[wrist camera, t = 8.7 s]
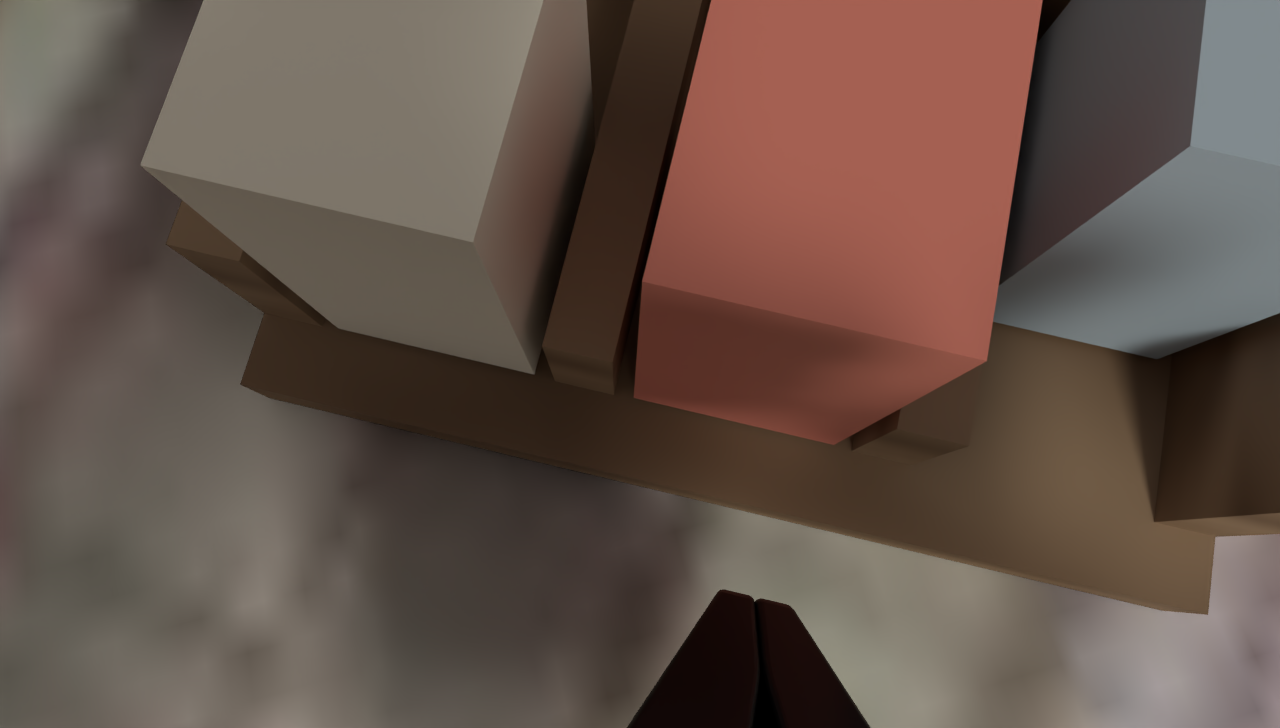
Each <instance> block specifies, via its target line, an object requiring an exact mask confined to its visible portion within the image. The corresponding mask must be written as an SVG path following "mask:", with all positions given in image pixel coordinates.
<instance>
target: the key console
mask: <svg viewBox="0 0 1280 728" xmlns="http://www.w3.org/2000/svg"><path fill="white" fill-rule="evenodd" d="M1070 1H1071V0H1043V1H1042V7H1041V14H1040V20H1039V27H1038V33H1037V40H1036V44H1037V42H1038V41H1039V40H1040V39H1041V37H1042V36H1043V35H1044V34H1045V32H1046V31H1047V30H1048V29H1049V27H1050V26H1051V25H1052V24H1053V22H1054V21H1055V20H1056V19H1057V17H1058V16H1059V15H1060V14H1061V12H1062V11H1063V10H1064V9H1065V7H1066V6H1067V5H1068V4H1069V2H1070ZM586 3H587V19H588V35H589V51H590V67H591V83H592V99H593V115H594V131H595V149H594V152H593V156H592V160H591V164H590V167H589V171H588V175H587V179H586V182H585V186H584V190H583V194H582V197H581V201H580V205H579V209H578V212H577V216H576V220H575V224H574V227H573V231H572V235H571V239H570V242H569V246H568V250H567V254H566V257H565V261H564V265H563V269H562V272H561V276H560V280H559V284H558V287H557V291H556V295H555V299H554V302H553V306H552V310H551V314H550V317H549V321H548V325H547V329H546V332H545V336H544V340H543V344H542V348H541V352H540V356H539V359H538V363H537V367H536V371H535V374H530V373H525V372H521V371H517V370H513V369H508V368H504V367H500V366H496V365H491V364H487V363H483V362H479V361H474V360H470V359H466V358H462V357H457V356H453V355H449V354H445V353H440V352H436V351H432V350H428V349H423V348H419V347H415V346H411V345H406V344H402V343H398V342H394V341H389V340H385V339H381V338H377V337H372V336H368V335H364V334H360V333H355V332H351V331H347V330H343V329H338V328H337V327H336V326H335V325H333V324H332V323H331V322H330V321H329V320H327V319H326V318H325V317H324V316H322V315H321V314H320V313H319V312H318V311H316V310H315V309H314V308H313V307H312V306H310V305H309V304H308V303H307V302H305V301H304V300H303V299H302V298H301V297H299V296H298V295H297V294H296V293H294V292H293V291H292V290H291V289H290V288H288V287H287V286H286V285H285V284H284V283H282V282H281V281H280V280H279V279H277V278H276V277H275V276H274V275H273V274H271V273H270V272H269V271H268V270H267V269H265V268H264V267H263V266H262V265H260V264H259V263H258V262H257V261H256V260H254V259H253V258H252V257H251V256H250V255H248V254H247V253H246V252H245V251H243V250H242V249H241V248H240V247H239V246H237V245H236V244H235V243H234V242H233V241H231V240H230V239H229V238H228V237H226V236H225V235H224V234H223V233H222V232H220V231H219V230H218V229H217V228H216V227H214V226H213V225H212V224H211V223H209V222H208V221H207V220H206V219H205V218H203V217H202V216H201V215H200V214H199V213H197V212H196V211H195V210H194V209H192V208H191V207H190V206H189V205H188V204H186V203H185V202H184V201H183V200H182V201H181V204H180V207H179V210H178V212H177V215H176V218H175V220H174V223H173V226H172V228H171V231H170V234H169V237H168V239H167V242H166V245H168V246H169V247H170V248H172V249H173V250H175V251H176V252H178V253H179V254H180V255H182V256H183V257H185V258H186V259H188V260H189V261H191V262H192V263H193V264H195V265H196V266H198V267H199V268H201V269H202V270H203V271H205V272H206V273H208V274H209V275H211V276H212V277H214V278H215V279H216V280H218V281H219V282H221V283H222V284H224V285H225V286H226V287H228V288H229V289H231V290H232V291H234V292H235V293H236V294H238V295H239V296H241V297H242V298H244V299H245V300H247V301H248V302H249V303H251V304H252V305H254V306H255V307H257V308H258V309H259V310H261V311H262V312H264V316H263V318H262V321H261V324H260V327H259V330H258V333H257V336H256V339H255V342H254V345H253V348H252V351H251V354H250V357H249V360H248V363H247V366H246V369H245V372H244V375H243V378H242V380H241V383H240V385H243V386H245V387H247V388H249V389H251V390H253V391H255V392H258V393H260V394H262V395H264V396H266V397H268V398H272V399H276V400H280V401H284V402H288V403H293V404H297V405H301V406H305V407H309V408H314V409H318V410H322V411H326V412H330V413H335V414H339V415H343V416H347V417H351V418H356V419H360V420H364V421H368V422H372V423H377V424H381V425H385V426H389V427H393V428H398V429H402V430H406V431H410V432H414V433H419V434H423V435H427V436H431V437H435V438H440V439H444V440H448V441H452V442H456V443H461V444H465V445H469V446H473V447H477V448H482V449H486V450H490V451H494V452H498V453H503V454H507V455H511V456H515V457H519V458H524V459H528V460H532V461H536V462H540V463H545V464H549V465H553V466H557V467H561V468H566V469H570V470H574V471H578V472H582V473H587V474H591V475H595V476H599V477H603V478H608V479H612V480H616V481H620V482H624V483H629V484H633V485H637V486H641V487H645V488H650V489H654V490H658V491H662V492H666V493H671V494H675V495H679V496H683V497H687V498H692V499H696V500H700V501H704V502H708V503H713V504H717V505H721V506H725V507H729V508H734V509H738V510H742V511H746V512H750V513H755V514H759V515H763V516H767V517H771V518H776V519H780V520H784V521H788V522H792V523H797V524H801V525H805V526H809V527H813V528H818V529H822V530H826V531H830V532H834V533H839V534H843V535H847V536H851V537H855V538H860V539H864V540H868V541H872V542H876V543H881V544H885V545H889V546H893V547H897V548H902V549H906V550H910V551H914V552H918V553H923V554H927V555H931V556H935V557H939V558H944V559H948V560H952V561H956V562H960V563H965V564H969V565H973V566H977V567H981V568H986V569H990V570H994V571H998V572H1002V573H1007V574H1011V575H1015V576H1019V577H1023V578H1028V579H1032V580H1036V581H1040V582H1044V583H1049V584H1053V585H1057V586H1061V587H1065V588H1070V589H1074V590H1078V591H1082V592H1086V593H1091V594H1095V595H1099V596H1103V597H1107V598H1112V599H1116V600H1120V601H1124V602H1128V603H1133V604H1137V605H1141V606H1145V607H1149V608H1154V609H1158V610H1162V611H1174V612H1185V613H1196V614H1207V615H1208V609H1209V598H1210V587H1211V577H1212V566H1213V555H1214V544H1215V537H1217V536H1241V535H1265V534H1280V313H1278V314H1276V315H1273V316H1270V317H1268V318H1265V319H1263V320H1260V321H1257V322H1255V323H1252V324H1249V325H1247V326H1244V327H1241V328H1239V329H1236V330H1233V331H1231V332H1228V333H1225V334H1223V335H1220V336H1217V337H1215V338H1212V339H1210V340H1207V341H1204V342H1202V343H1199V344H1196V345H1194V346H1191V347H1188V348H1186V349H1183V350H1180V351H1178V352H1175V353H1172V354H1170V355H1167V356H1165V357H1162V358H1159V359H1153V358H1149V357H1145V356H1140V355H1136V354H1132V353H1127V352H1123V351H1119V350H1114V349H1110V348H1106V347H1101V346H1097V345H1093V344H1088V343H1084V342H1079V341H1075V340H1071V339H1066V338H1062V337H1058V336H1053V335H1049V334H1045V333H1040V332H1036V331H1032V330H1027V329H1023V328H1019V327H1014V326H1010V325H1005V324H1001V323H997V322H993V325H992V331H991V338H990V344H989V351H988V357H987V361H986V362H984V363H983V364H981V365H979V366H977V367H975V368H973V369H972V370H970V371H968V372H966V373H964V374H962V375H961V376H959V377H957V378H955V379H953V380H952V381H950V382H948V383H946V384H944V385H942V386H941V387H939V388H937V389H935V390H933V391H931V392H930V393H928V394H926V395H924V396H922V397H921V398H919V399H917V400H915V401H913V402H911V403H910V404H908V405H906V406H904V407H902V408H900V409H899V410H897V411H895V412H893V413H891V414H890V415H888V416H886V417H884V418H882V419H880V420H879V421H877V422H875V423H873V424H871V425H869V426H868V427H866V428H864V429H862V430H860V431H859V432H857V433H855V434H853V435H851V436H849V437H848V438H846V439H844V440H842V441H840V442H838V443H837V444H835V445H832V444H827V443H823V442H819V441H815V440H810V439H806V438H802V437H798V436H793V435H789V434H785V433H781V432H776V431H772V430H768V429H764V428H759V427H755V426H751V425H746V424H742V423H738V422H734V421H729V420H725V419H721V418H717V417H712V416H708V415H704V414H700V413H695V412H691V411H687V410H683V409H678V408H674V407H670V406H666V405H661V404H657V403H653V402H649V401H644V400H640V399H636V398H634V386H635V372H636V359H637V345H638V332H639V318H640V305H641V292H642V280H643V276H644V272H645V268H646V264H647V260H648V256H649V252H650V248H651V244H652V240H653V236H654V232H655V227H656V223H657V219H658V215H659V211H660V207H661V203H662V199H663V195H664V191H665V187H666V183H667V179H668V174H669V170H670V166H671V162H672V158H673V154H674V150H675V146H676V142H677V138H678V134H679V130H680V126H681V122H682V117H683V113H684V109H685V105H686V101H687V97H688V93H689V89H690V85H691V81H692V77H693V73H694V69H695V64H696V60H697V56H698V52H699V48H700V44H701V40H702V36H703V32H704V28H705V24H706V20H707V16H708V11H709V7H710V3H711V0H586Z"/></svg>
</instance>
